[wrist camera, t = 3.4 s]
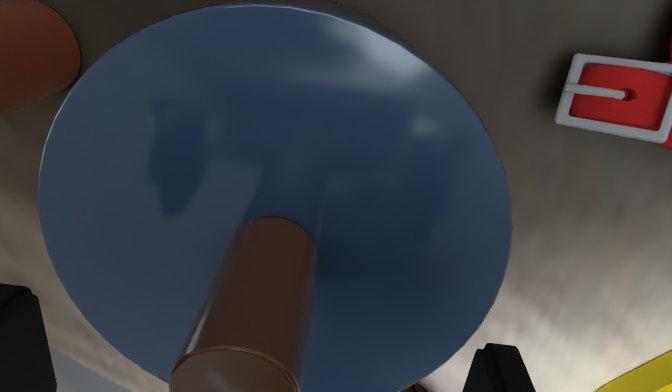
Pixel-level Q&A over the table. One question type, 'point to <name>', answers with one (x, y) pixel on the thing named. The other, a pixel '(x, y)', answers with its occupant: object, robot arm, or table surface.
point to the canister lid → (274, 203)
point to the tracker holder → (619, 97)
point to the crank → (645, 378)
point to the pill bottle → (34, 54)
